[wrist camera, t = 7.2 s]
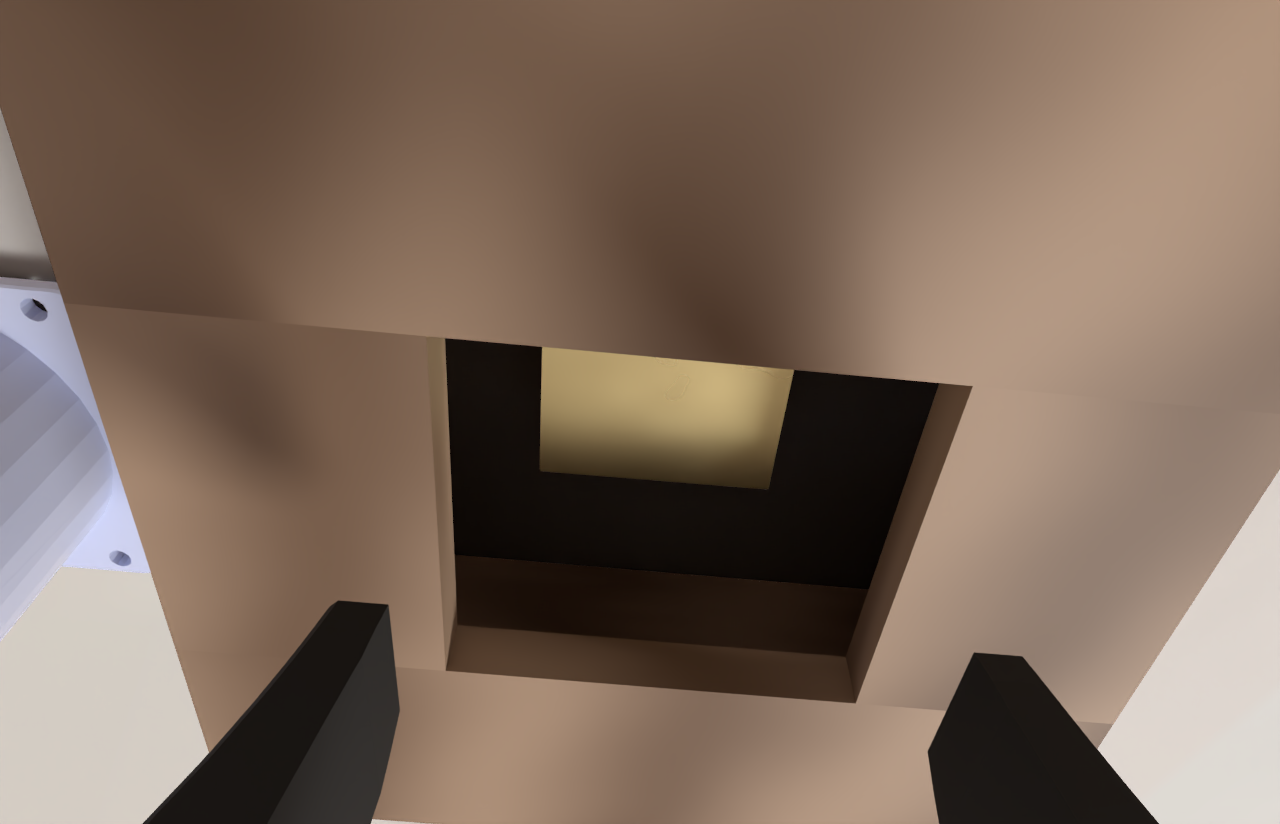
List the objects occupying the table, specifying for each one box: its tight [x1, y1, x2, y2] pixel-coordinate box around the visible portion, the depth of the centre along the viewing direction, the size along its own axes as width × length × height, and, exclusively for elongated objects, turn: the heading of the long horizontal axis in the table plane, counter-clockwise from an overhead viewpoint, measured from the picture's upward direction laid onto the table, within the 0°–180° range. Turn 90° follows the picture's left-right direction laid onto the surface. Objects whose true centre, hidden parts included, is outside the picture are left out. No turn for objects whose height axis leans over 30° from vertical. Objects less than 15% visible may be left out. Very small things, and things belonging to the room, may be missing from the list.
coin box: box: [0, 0, 1280, 824], centre depth 16 cm, size 16×16×6 cm
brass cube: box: [540, 347, 794, 489], centre depth 17 cm, size 4×4×3 cm
